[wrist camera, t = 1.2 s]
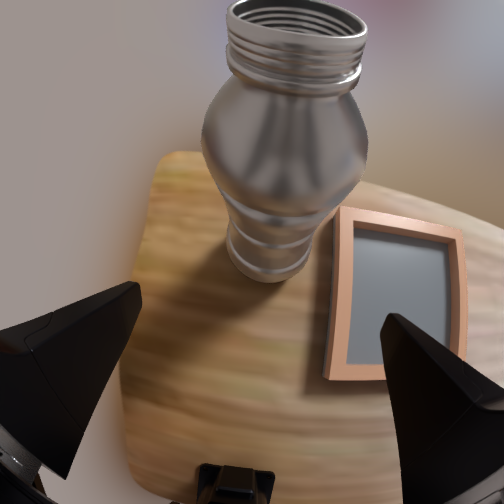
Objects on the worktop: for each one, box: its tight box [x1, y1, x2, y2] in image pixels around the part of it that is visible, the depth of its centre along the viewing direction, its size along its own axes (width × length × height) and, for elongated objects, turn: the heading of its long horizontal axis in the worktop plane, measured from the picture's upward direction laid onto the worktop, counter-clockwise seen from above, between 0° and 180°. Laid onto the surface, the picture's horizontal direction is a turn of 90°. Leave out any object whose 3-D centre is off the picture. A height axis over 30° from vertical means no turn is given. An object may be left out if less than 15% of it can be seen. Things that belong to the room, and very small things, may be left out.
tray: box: [322, 206, 468, 380], centre depth 21 cm, size 14×14×2 cm
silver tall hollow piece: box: [201, 0, 368, 283], centre depth 14 cm, size 6×7×20 cm
